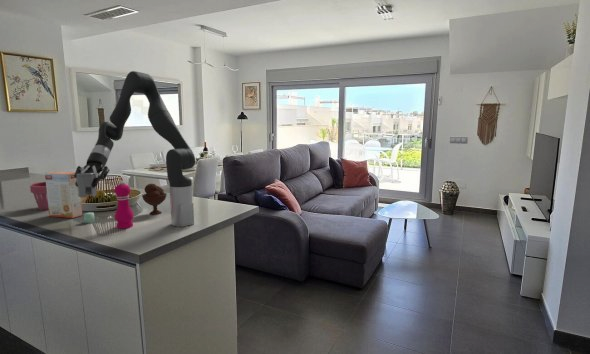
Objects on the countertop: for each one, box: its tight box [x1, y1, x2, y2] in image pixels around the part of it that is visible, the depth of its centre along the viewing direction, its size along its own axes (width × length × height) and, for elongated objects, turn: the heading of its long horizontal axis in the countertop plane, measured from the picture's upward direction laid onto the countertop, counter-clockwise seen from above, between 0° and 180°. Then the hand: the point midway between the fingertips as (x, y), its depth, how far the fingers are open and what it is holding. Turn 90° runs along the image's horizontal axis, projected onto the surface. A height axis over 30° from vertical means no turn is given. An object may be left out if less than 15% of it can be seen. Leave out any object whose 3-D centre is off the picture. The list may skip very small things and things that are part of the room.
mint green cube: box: [83, 212, 96, 224], centre depth 152 cm, size 4×4×4 cm
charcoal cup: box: [76, 172, 97, 198], centre depth 149 cm, size 6×6×10 cm
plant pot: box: [29, 181, 49, 211], centre depth 176 cm, size 14×14×13 cm
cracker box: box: [44, 171, 83, 219], centre depth 160 cm, size 14×6×21 cm, turn 74°
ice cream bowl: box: [141, 183, 168, 216], centre depth 166 cm, size 11×11×15 cm
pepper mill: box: [114, 180, 135, 230], centre depth 145 cm, size 7×7×20 cm
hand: (85, 186), depth 149 cm, fingers closed on charcoal cup, 6 cm apart
